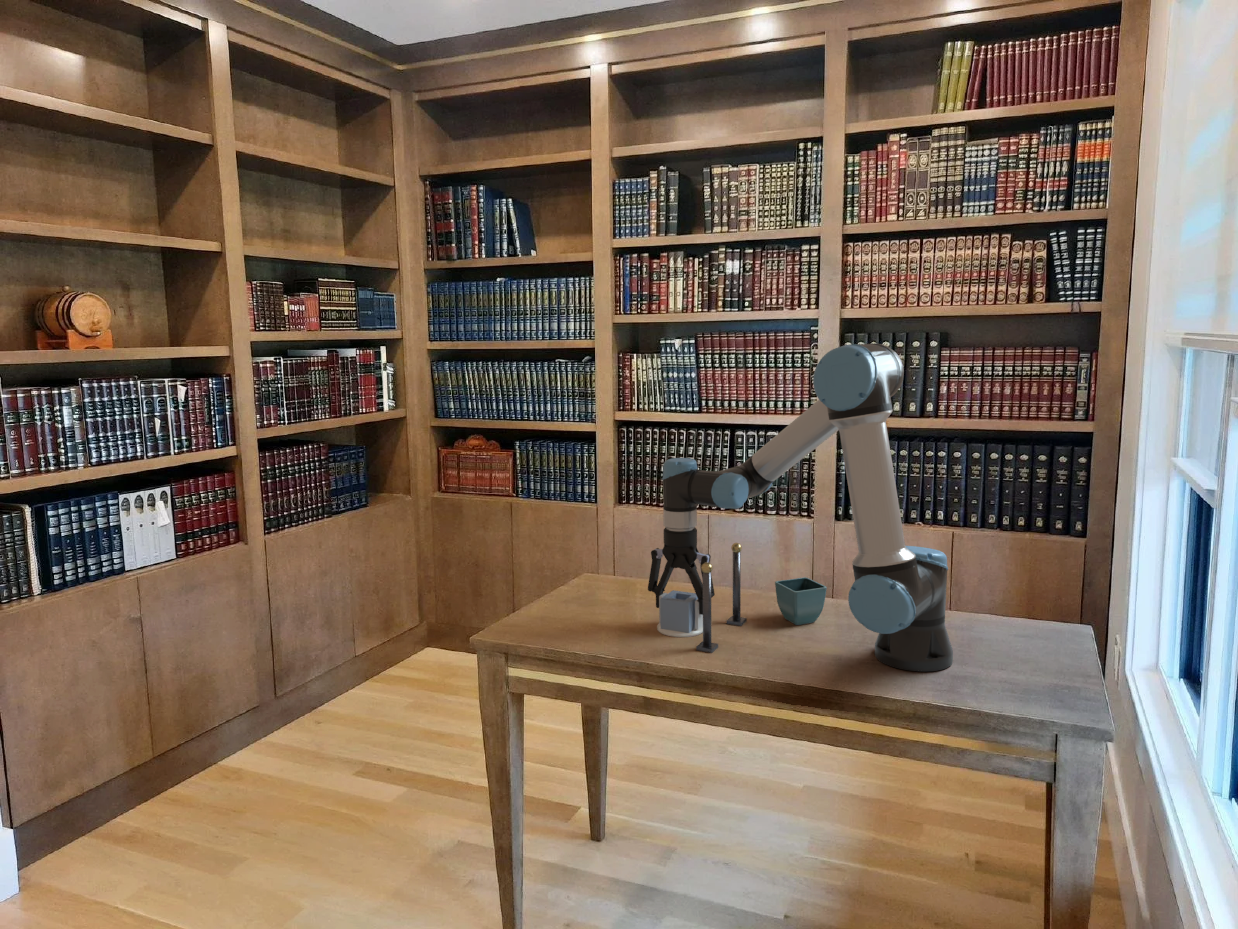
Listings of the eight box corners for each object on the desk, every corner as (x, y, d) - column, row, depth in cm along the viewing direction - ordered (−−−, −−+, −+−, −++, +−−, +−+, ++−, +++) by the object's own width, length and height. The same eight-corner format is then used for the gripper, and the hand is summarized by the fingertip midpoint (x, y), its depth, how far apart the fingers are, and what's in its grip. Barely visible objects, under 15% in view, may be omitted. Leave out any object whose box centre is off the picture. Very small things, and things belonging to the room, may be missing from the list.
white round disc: (712, 624, 196) (712, 622, 196) (694, 640, 186) (694, 637, 186) (669, 617, 201) (669, 615, 201) (649, 632, 192) (649, 630, 191)
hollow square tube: (701, 623, 195) (700, 594, 194) (689, 633, 189) (688, 603, 188) (673, 619, 198) (672, 590, 197) (660, 628, 192) (660, 598, 191)
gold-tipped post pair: (746, 621, 198) (746, 541, 195) (712, 653, 179) (711, 565, 176) (732, 619, 199) (731, 540, 196) (696, 650, 181) (695, 563, 178)
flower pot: (827, 624, 195) (828, 586, 193) (794, 630, 191) (794, 591, 190) (805, 613, 203) (805, 576, 201) (773, 618, 199) (773, 581, 198)
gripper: (730, 528, 188) (730, 626, 192) (645, 519, 198) (646, 613, 202) (717, 535, 182) (718, 636, 186) (630, 526, 192) (632, 623, 195)
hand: (681, 624), depth 194 cm, fingers open, 8 cm apart
